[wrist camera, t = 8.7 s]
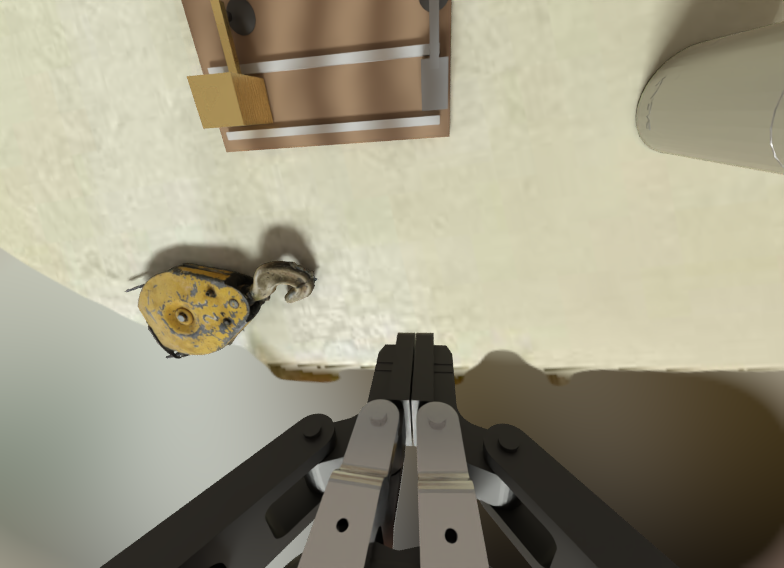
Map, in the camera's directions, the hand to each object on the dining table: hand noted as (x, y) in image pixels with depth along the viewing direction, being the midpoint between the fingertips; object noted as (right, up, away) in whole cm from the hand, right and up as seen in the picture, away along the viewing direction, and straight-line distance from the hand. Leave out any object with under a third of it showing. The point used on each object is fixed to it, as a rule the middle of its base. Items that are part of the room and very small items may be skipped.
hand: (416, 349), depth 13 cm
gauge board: (-8, +25, +18) cm, 32 cm away
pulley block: (-25, +1, +34) cm, 42 cm away
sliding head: (-16, +24, +18) cm, 34 cm away
